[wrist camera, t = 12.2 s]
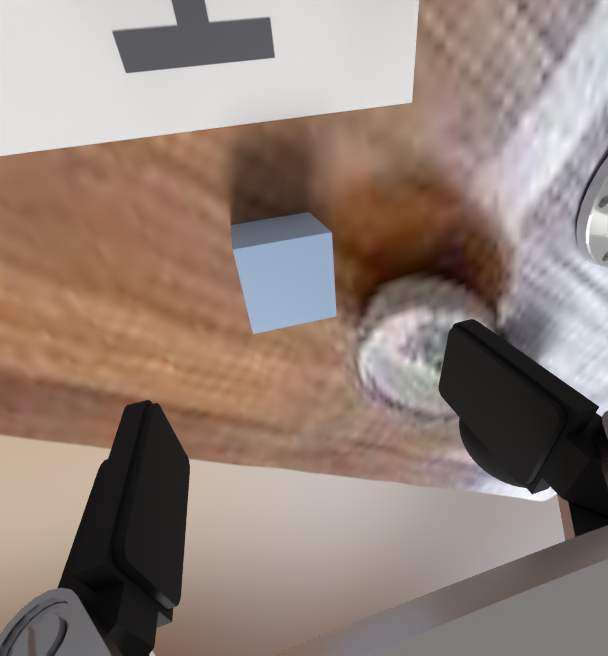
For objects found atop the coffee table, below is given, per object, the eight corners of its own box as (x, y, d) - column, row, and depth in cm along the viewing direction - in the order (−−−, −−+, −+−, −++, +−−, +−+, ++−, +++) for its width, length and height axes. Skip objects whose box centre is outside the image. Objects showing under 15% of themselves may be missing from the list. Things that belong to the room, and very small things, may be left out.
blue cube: (308, 211, 20) (331, 232, 15) (315, 282, 22) (336, 316, 18) (230, 224, 19) (232, 249, 15) (247, 296, 22) (253, 333, 18)
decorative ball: (432, 387, 31) (507, 476, 23) (522, 343, 31) (631, 419, 23) (445, 437, 37) (509, 524, 29) (522, 401, 37) (608, 479, 28)
